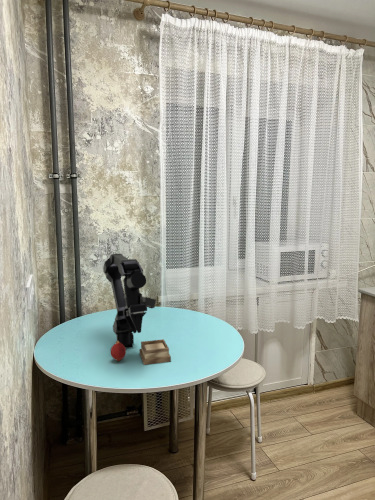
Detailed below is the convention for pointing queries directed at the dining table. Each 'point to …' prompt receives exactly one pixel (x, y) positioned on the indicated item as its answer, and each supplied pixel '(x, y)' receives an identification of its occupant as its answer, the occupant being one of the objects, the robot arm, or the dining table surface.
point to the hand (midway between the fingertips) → (137, 332)
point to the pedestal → (154, 352)
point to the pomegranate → (118, 351)
